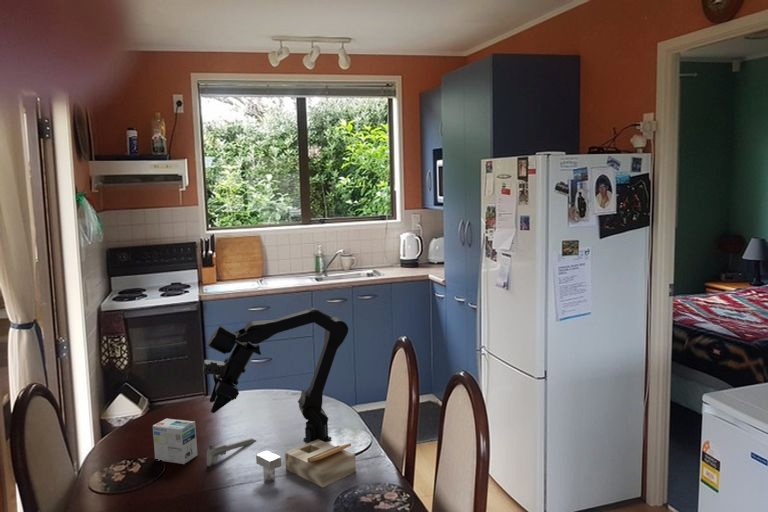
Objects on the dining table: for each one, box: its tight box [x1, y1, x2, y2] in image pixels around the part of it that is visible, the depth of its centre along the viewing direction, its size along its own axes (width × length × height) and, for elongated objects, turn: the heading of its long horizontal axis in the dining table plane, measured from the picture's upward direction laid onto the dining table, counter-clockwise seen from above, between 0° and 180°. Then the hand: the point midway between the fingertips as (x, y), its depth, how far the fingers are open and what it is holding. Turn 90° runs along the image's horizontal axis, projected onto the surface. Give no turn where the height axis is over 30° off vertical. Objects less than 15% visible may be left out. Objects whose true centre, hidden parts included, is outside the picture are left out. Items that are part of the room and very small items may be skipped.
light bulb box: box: [152, 418, 199, 465], centre depth 186 cm, size 11×7×11 cm, turn 71°
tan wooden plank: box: [307, 443, 352, 462], centre depth 172 cm, size 6×11×1 cm, turn 136°
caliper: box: [206, 437, 257, 467], centre depth 189 cm, size 20×1×6 cm, turn 152°
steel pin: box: [255, 450, 282, 484], centre depth 170 cm, size 4×6×7 cm, turn 46°
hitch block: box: [284, 439, 357, 488], centre depth 176 cm, size 16×12×5 cm
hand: (211, 407), depth 186 cm, fingers open, 9 cm apart
